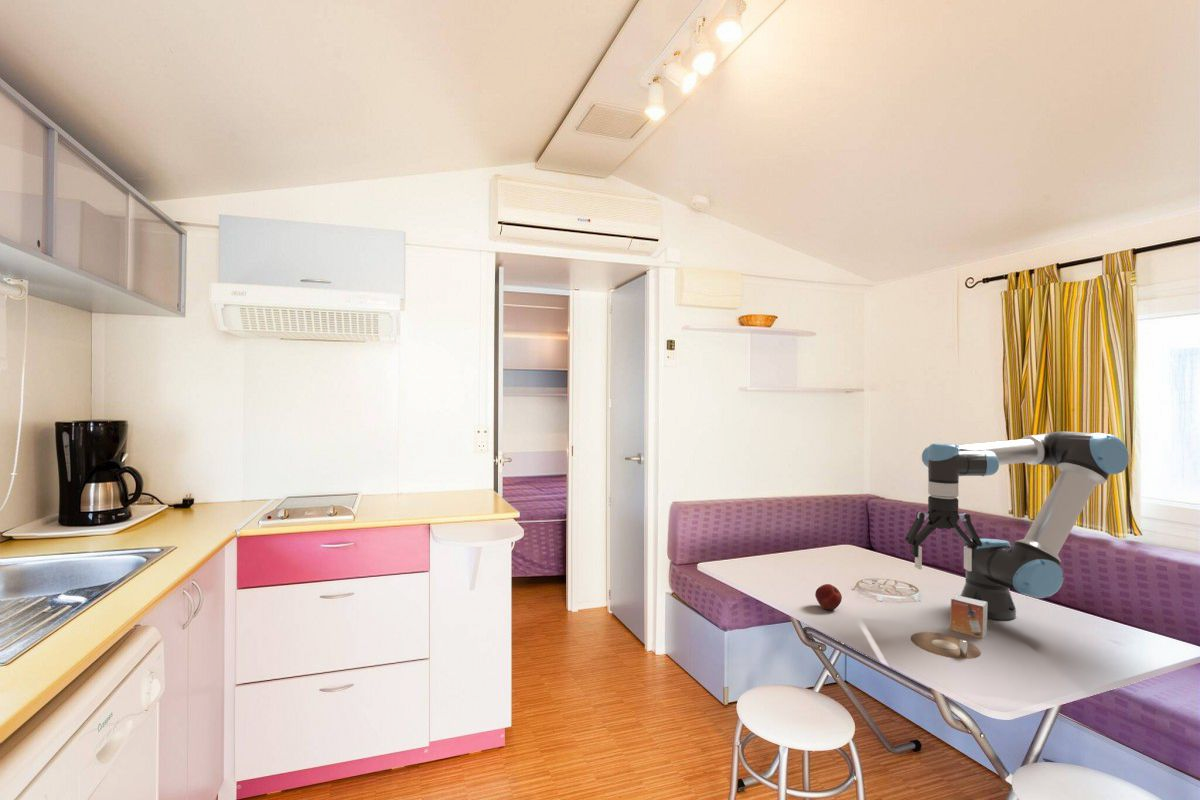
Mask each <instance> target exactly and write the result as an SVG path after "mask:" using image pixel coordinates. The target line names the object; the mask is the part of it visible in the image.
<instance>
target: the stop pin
mask: <svg viewBox="0 0 1200 800" xmlns="http://www.w3.org/2000/svg"><path fill="white" fill-rule="evenodd" d="M967 642H968V641H967V640H966V639H962V638H960V656H961V657H964V658H967Z"/></svg>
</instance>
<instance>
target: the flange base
mask: <svg viewBox="0 0 1200 800" xmlns="http://www.w3.org/2000/svg"><path fill="white" fill-rule="evenodd" d="M960 639H961V638H960V637H956V636H953V635H949V634H944V633H939V632H928V631H927V632H926V631H925V632H917V633H916V632H915V633H913V634H912V635H911V636H910V640H911V642H912V643H913V644H914V645H915V646H916V647H918V648H920V649H921V650H924V651H926V652H929V653H931V654H935V655H937V656H938V655H939V656H941V657H946V658H951V659H957V660H958V659H959V660H972V659H977V658H979V657H980V656H981V655H982V652H981V650H980V649H979V648H978V646H976V645H975V644H972V643H971V642H970V641H967V658H964V657H961V656H960Z"/></svg>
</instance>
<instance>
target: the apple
mask: <svg viewBox="0 0 1200 800" xmlns="http://www.w3.org/2000/svg"><path fill="white" fill-rule="evenodd" d="M842 596H843V595H842V593H841V592H840V590H839V589H838V588H837V587H836V586H834V585H832V584H830V583H826V584H825V583H824V584H823V585H820V586H818V588H817V589H816V591H815V599H816V601H817V603H818V604H819V606H820V607H821V608H823V609H824V610H828V611H832V610H835V609H837V608H838V607H839V606H840V604H841V603H842V599H843V597H842Z"/></svg>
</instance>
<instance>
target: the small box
mask: <svg viewBox="0 0 1200 800" xmlns="http://www.w3.org/2000/svg"><path fill="white" fill-rule="evenodd" d="M987 606H988V602H986V601H980V600H976V599H971V598H967V597H963V596H960V595H958V594H955V595H954V596H953V597H952V598H951V599H950V619H949V621H950V624H949V625H950V626H949V630H950V631H952V632H953V631H954V632H956V633H960V634H964V635H966V636H967V635H968V636H970V637H971V636H972V637H976V638H980V639H984V638H985V636H986V635H987V634H988V618H987Z"/></svg>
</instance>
